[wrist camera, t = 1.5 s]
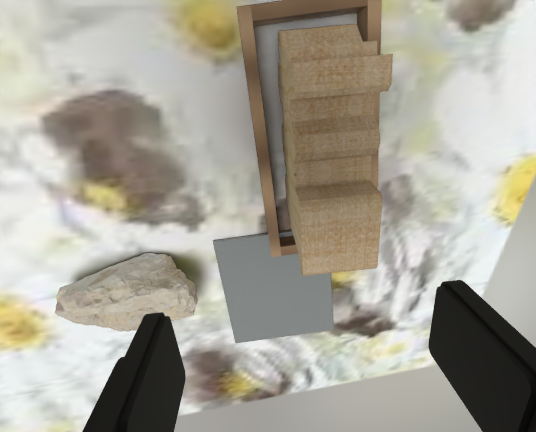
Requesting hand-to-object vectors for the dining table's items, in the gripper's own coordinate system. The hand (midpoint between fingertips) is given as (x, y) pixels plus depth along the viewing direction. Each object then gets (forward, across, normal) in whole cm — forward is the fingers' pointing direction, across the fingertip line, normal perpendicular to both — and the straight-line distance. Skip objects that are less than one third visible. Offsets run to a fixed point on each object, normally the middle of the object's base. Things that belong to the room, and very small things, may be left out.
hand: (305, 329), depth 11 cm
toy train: (+21, -4, -3) cm, 21 cm away
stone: (+21, +16, +11) cm, 28 cm away
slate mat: (+20, 0, +13) cm, 24 cm away
